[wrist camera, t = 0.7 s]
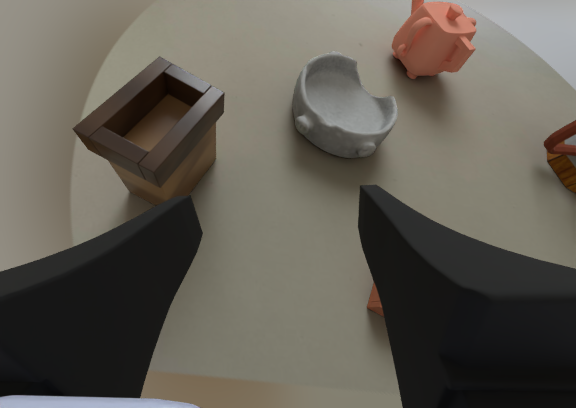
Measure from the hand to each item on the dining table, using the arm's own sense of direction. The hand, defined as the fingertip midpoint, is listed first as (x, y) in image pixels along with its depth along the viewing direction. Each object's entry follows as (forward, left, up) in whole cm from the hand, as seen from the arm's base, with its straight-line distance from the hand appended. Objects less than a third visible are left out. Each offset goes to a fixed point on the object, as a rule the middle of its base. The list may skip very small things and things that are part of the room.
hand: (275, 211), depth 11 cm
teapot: (+47, -9, -17) cm, 51 cm away
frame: (+6, +11, -9) cm, 15 cm away
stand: (+6, +11, -16) cm, 21 cm away
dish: (+24, -1, -17) cm, 29 cm away
